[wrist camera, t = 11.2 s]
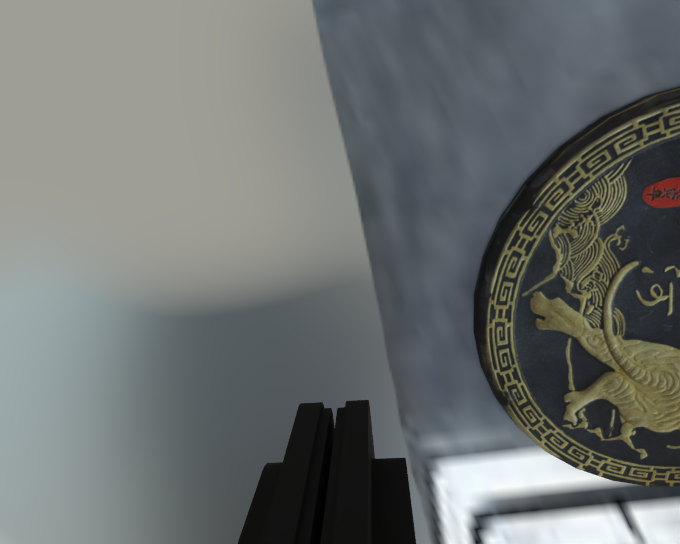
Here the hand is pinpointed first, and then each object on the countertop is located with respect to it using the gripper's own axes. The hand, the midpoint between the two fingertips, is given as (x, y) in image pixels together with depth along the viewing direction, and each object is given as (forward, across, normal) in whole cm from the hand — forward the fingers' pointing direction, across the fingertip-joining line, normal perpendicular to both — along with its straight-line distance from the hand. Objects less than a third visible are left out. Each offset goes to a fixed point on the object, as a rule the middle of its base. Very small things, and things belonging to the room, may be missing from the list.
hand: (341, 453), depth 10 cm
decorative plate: (+21, -23, +6) cm, 32 cm away
